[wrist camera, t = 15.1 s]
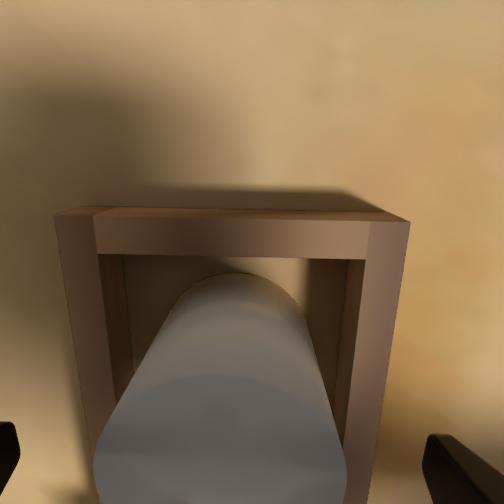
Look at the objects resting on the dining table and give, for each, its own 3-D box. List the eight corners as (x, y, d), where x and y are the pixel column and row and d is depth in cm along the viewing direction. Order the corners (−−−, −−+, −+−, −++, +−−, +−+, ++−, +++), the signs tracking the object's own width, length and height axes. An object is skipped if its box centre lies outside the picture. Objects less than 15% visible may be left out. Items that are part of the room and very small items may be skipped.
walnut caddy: (388, 212, 10) (410, 222, 8) (330, 638, 15) (338, 688, 14) (84, 206, 10) (53, 215, 8) (138, 630, 15) (126, 679, 14)
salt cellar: (313, 274, 10) (360, 378, 6) (304, 401, 12) (335, 572, 7) (161, 271, 10) (77, 370, 6) (169, 397, 12) (107, 565, 7)
